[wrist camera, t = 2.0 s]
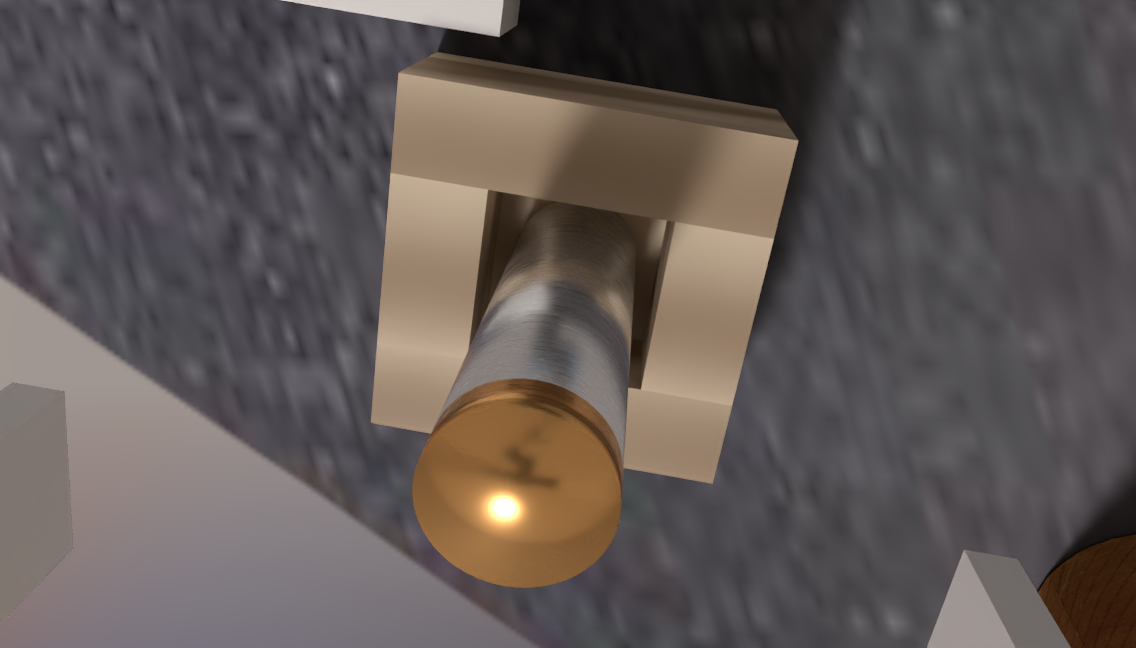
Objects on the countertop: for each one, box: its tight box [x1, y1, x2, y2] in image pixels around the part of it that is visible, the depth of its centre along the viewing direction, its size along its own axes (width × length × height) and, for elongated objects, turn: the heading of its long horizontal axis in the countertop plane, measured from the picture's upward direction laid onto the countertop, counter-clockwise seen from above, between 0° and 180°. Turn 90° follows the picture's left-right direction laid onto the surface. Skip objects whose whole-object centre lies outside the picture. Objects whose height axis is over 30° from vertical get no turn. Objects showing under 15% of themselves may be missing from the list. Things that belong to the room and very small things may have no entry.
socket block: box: [371, 52, 798, 484], centre depth 24 cm, size 9×9×4 cm
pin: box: [413, 201, 636, 588], centre depth 20 cm, size 3×3×12 cm
